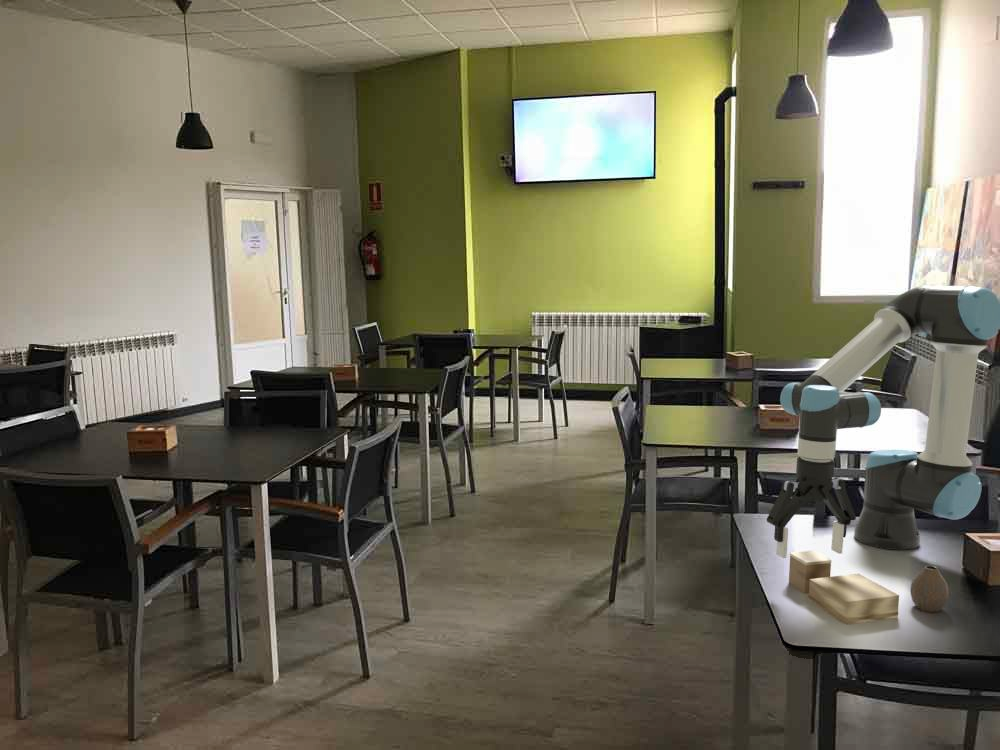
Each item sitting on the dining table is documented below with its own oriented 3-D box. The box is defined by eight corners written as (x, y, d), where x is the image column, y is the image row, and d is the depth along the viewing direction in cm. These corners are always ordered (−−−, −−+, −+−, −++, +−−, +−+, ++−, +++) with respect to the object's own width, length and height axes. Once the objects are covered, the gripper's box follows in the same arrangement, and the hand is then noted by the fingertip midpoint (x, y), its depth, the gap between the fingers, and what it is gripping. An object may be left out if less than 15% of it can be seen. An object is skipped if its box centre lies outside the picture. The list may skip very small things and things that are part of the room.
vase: (927, 617, 167) (930, 575, 166) (901, 603, 173) (904, 563, 172) (955, 613, 169) (958, 571, 168) (928, 599, 175) (932, 559, 174)
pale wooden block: (812, 580, 186) (814, 550, 185) (829, 591, 180) (831, 560, 179) (788, 583, 184) (789, 552, 183) (804, 594, 178) (806, 562, 177)
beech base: (857, 595, 178) (858, 573, 178) (897, 619, 167) (899, 595, 166) (808, 601, 175) (809, 579, 175) (845, 626, 164) (847, 601, 163)
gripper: (855, 451, 184) (848, 544, 187) (753, 456, 179) (748, 551, 181) (878, 459, 177) (870, 555, 180) (773, 464, 171) (767, 563, 174)
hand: (809, 553), depth 181 cm, fingers open, 13 cm apart
